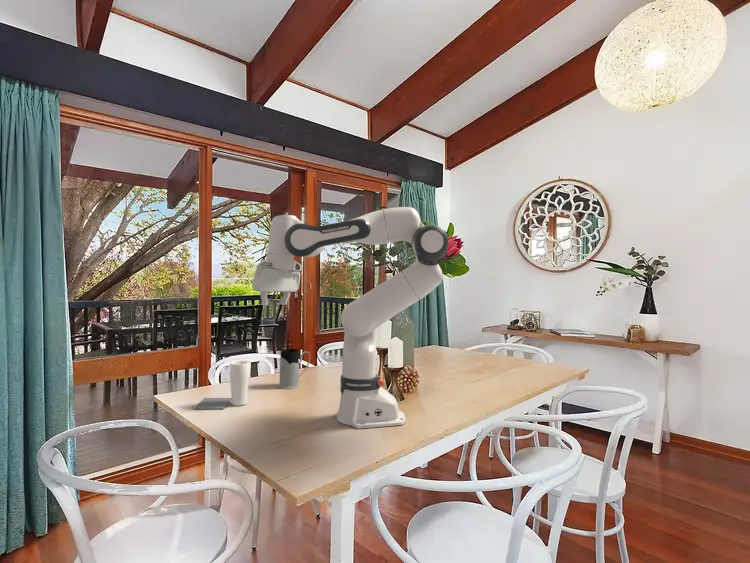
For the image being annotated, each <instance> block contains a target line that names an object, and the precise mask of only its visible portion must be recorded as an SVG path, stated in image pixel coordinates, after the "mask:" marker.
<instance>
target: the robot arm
mask: <svg viewBox="0 0 750 563" xmlns="http://www.w3.org/2000/svg"><path fill="white" fill-rule="evenodd" d="M267 240H268V248H267V251H266V257H265V261H261V262H260V263H258V265H256V269H255V271H254V275H253V280H252V285H251V287H252V290H253V291H255V292H259V293H260V294H259V295H260V299H261V306H264V307H266V306H267V307H269V305H270V300H269V299H268V295H269V292H270V293H273V292H274V293H282V295H283V296H282V298H281V299H280V302H279V304H280V305H282V306H287V305H288V300H289V298H290V297H291V293H295V292H298V290H299V289H300V282H301V271H302V268H303V267H302V264H301V263H299V262H298V261H296V260H295V259H294V258H295V257H299V258H304V257H305V258H312V257H316V256H318V255H319V254H321V253H322V252H323V250H324V248H325V247H327V246H331V245H332V246H333V245H339V244H342V243H343V244H344V243H359V244H364V245H367V246H368V245H369V246H370V245H371V246H377V245H378V246H379V245H387V244H391V243H396V242H397V243H398V242H408V244H409V246H410V249H411V250H412V252H413V254H414V255H415V260H414V261H413V263H411V264H410V265H408V266H407V267H406V268H404V269H402V270H401V271H399V272H398V273H396V274H395V275H393V276H392V277H390V278H388V279H386V280H385V281H383V282H382V283H380V284H378V285H377V286H375V287H373V288H372V289H370V290H369V291H367V292H366V293H364V294H363V295H361V296H360V297H357V298H356V299H354V300H353V301H351V302H350V303H348V304H346V306H345V307H344V308H343V310H342V311H341V315H340V323H341V326H342V328H343V329H344V334H343V335H344V336H343V346H342V362H341V363H342V368H341V376H340V379H339V380H340V381H339V382H340V384H339V385H340V386H339V389H340V401H339V406H338V407H339V408H338V411H337V414H336V420H337V421H338V422H339V423H341V424H344V425H348V426H351V427H353V428H355V429H358V430H361V429H368V428H371V429H372V428H384V427H391V426H392V427H393V426H402V425H404V424H405V423H406V416H405V414H404V412H403V411H402V410H400V409H399V404H398V401H397V399H396V397H395V396H394V395H393V394H391V393H390V392H389V391H388V390H386V389H385V388H383V386H384V385H385V381H384V379H382V377H381V376H380V375H377V347H378V346H377V344H378V327H380V326H382V325H383V324H385V323H386V322H388V321H389V320H391V319H392V318H394V317H395V316H396V315H398V314H400V313H401V312H402V311H403V310H406V309H407V308H409V307H411V306H412V305H414V304H415V303H416V302H418V301H420V300H421V299H423V298H425V297H426V296H427V295H429V294H430V293H431V292H432V291H434V290H435V289H436V288H437V287H438V286H439V285H440V284H441V283H442V282H443V279H444V275H443V270H442V268H441V267H440V263H441V262H442V260H443V258H444V256H445V254H446V253H447V251H448V249H449V241H450V240H449V236H448V234H447V232H446V231H445V230H444V229H443V228H442V227H440V226H439V225H436V224H427V225H425V224H423V222H422V221H421V216H420V215H419V212H418V211H417V210H416V209H415V208H414V207H411V206H399V207H396V206H395V207H390V208H385V209H384V208H383V209H378V210H375V211H372V212H369V213H366V214H363V215H361V216H359V217H358V216H357V217H355V218H351V219H349V220H345V221H341V222H334V223H329V224H323V225H312V224H307V223H304V222H303V221H301V220H300V219H299V218H298V217H297V216H296V215H294V214H288V213H287V214H284V213H283V214H278V215H275V216H274V217H273V218H272V220H271V223H270V226H269V233H268V239H267Z"/></svg>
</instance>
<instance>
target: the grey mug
mask: <svg viewBox="0 0 750 563" xmlns="http://www.w3.org/2000/svg"><path fill="white" fill-rule="evenodd" d="M305 353H307V354H308V362H307V365H306V366H305V368H304V370H303V371H301V372H300V363H302V360H303V355H304V354H305ZM299 357H300V358H299ZM310 361H311V354H310V352H308V351H305V350H304V351H302V352H301V355H300V350H299V349H295V348H285V349H281V350H280V358H279V385H278V388H279V389H281V390H295V389H298V388H300V387H301V386H300V378H301V377H302V375H303V374H304V373H305V372H306V371H307V369H308V367H309V365H310Z"/></svg>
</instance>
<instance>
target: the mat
mask: <svg viewBox="0 0 750 563" xmlns="http://www.w3.org/2000/svg"><path fill="white" fill-rule="evenodd" d="M230 402H232V397H204V398H203V399H202V400H200V402H199V403H198V404H196V405H195V406H194V407H193V408H192V409H193V411H202V410H203V411H205V410H207V411H208V410H209V411H211V410H215V411H216V410H218V411H220V410H223V411H224V410H225V408H226V407H227V406H228V405H229V404H230Z"/></svg>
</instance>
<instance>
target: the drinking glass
mask: <svg viewBox="0 0 750 563" xmlns="http://www.w3.org/2000/svg"><path fill="white" fill-rule="evenodd" d="M250 372H251V366H250V361H248V360H234V361H231V362H230V363H229V382H230V394H231V398H232V400H231V405H232V406H235V407H241V406H245V405H246V404H247V403H248V394H249V382H250V374H251V373H250Z"/></svg>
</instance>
